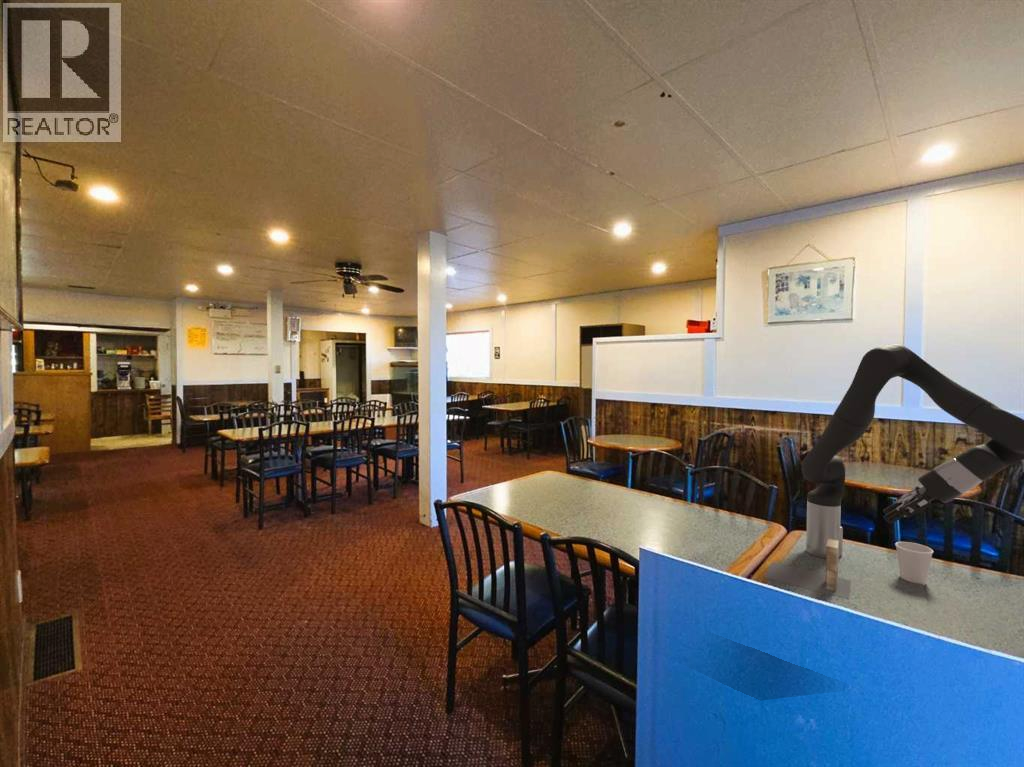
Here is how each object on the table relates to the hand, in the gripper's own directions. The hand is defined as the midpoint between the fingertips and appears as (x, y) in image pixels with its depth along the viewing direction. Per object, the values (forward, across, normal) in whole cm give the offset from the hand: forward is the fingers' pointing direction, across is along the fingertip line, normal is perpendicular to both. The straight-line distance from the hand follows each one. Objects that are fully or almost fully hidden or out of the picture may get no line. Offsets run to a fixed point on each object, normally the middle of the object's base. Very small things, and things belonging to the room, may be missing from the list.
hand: (886, 517), depth 118 cm
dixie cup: (+11, -20, +21) cm, 31 cm away
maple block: (+23, 0, +8) cm, 25 cm away
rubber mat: (+28, 0, +4) cm, 28 cm away
